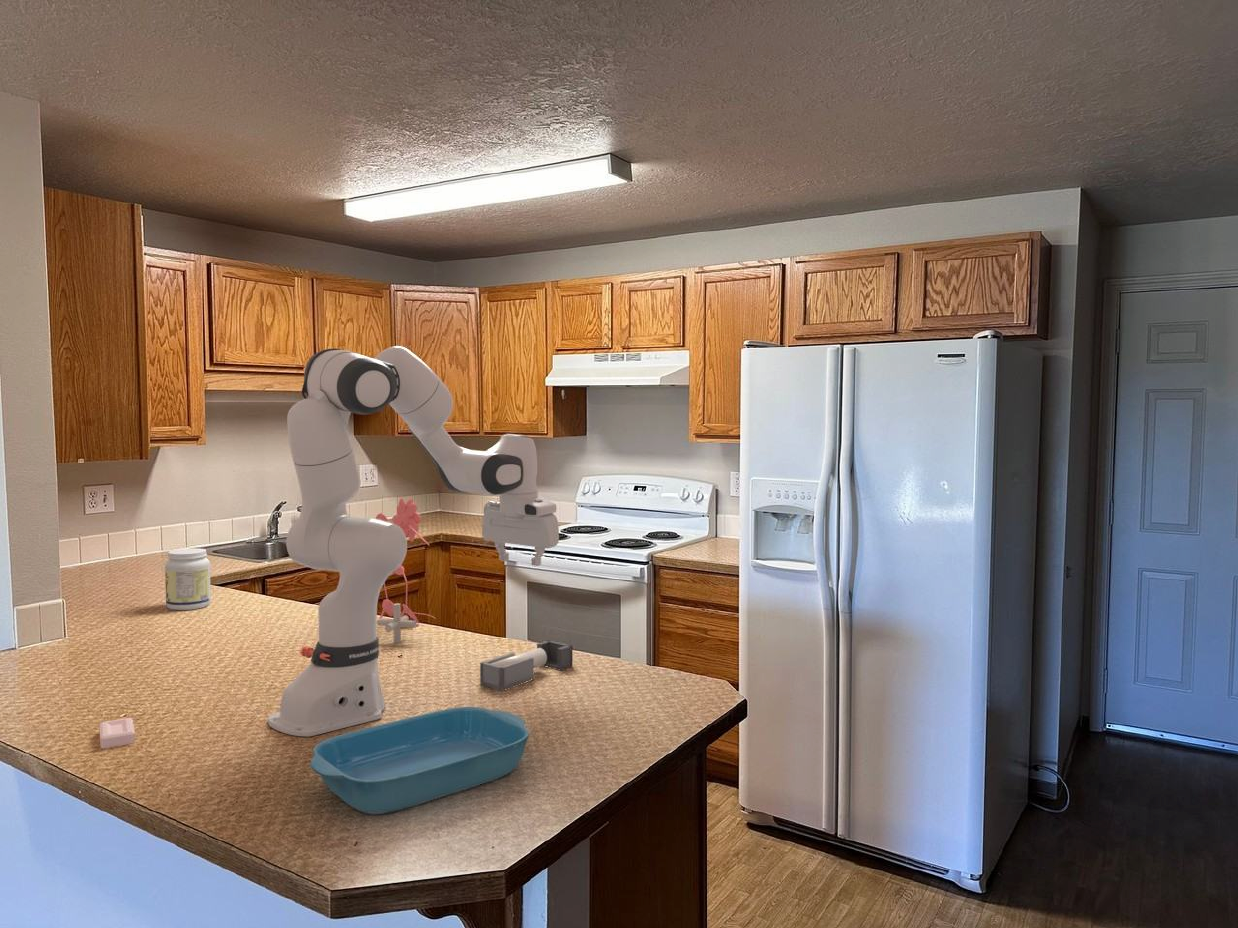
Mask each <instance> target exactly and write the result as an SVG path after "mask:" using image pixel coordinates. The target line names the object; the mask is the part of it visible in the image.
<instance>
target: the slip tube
mask: <svg viewBox="0 0 1238 928" xmlns="http://www.w3.org/2000/svg"><path fill="white" fill-rule="evenodd" d="M529 657H532V658H534V669H535V668H538V667H541V666H542V665H544V664H545V663H546V661H547V655H546V652H545V651H544V650H543V649H542V648H537V647H536V648H535V649H531V650H528V651H525V652H523V653H518V654H515V656H512V657H509V658H506V659H503V660H500V661H497V662H494V663H491V664H493V665H497V666H501V667H502V666H505V665H508V664H511V663H514V662H517V661H520V660H523V659H526V658H529Z"/></svg>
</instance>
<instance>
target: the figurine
mask: <svg viewBox="0 0 1238 928" xmlns="http://www.w3.org/2000/svg"><path fill="white" fill-rule="evenodd" d="M417 510H418V505H417V504H416V503H414V500H413V498H409V499H408V500H407V501H406V502H405V500H404V497H401V498H399V501H398V505H397V506H396V515H393V516H392V517H391V518H392V519H391V520H392V523H393V524H396V525H398V526H399V527H400V528H401V529H402V530H403V532H404V534H405V536H406V539H407V538H408V540H409V541H410V542H412V543H413V542H414V541H415V538H416V536H417V537H418V538H419V539H421V540H422V541H423V542H424V543H425V544H427V546H428V547H429V546H430V543H429V542H428V541H426V539H424V538H423V536H422V535H421V534H420V533H419V526H418V524H420V523H421V522H422V517H421V515H420V514H419V513H418V512H417ZM375 519H380V520H383V521H387V522H389V519H388V518H387V516H386V515H385V514H383V512H380V513H378V514H377V515H376V516H375ZM394 574H395V575H398V576H403V578H404V580H405V588H406V589H405V604H404V603H403V604H402V608H403V609H402V611H401V617H403V616H405V615H404V614H408V616H410V617H411V619H412V620H413V621H416V622H417V624H418V625H420V621H419V619H418V617H417V616H416V615H415V614H418V615H422V613H419V612H415V611H414V612H413V611H412V610H411V609H410V608H409V607H408V585H409V584H408V580H407V576H406V574H405V567H404V566H403V563H402V564H401V565H400V566H399V568H398V569H396V570H395V571H394V572H392V573H391V574H390V575H389V577H390V576H392V575H394ZM383 588H384V592H385V597H386V599H383V601H382V605H381V606H382V608H383V609H382V611H381V614H380V616H379V618H378V619H381V618H382V619H383V616H384V614H385V613H386V614H387V616H389V617H392V618H393V604H394V603H393V602H392V601H391V600H390V599H389V597H388V594H387V593H388V592H387V589H386V581H385V582H384V584H383ZM423 615H425V616H429V617H432V618H434V619H435V620H436V617H434V616H433V615H431V614H429V613H428V614H426V613H423ZM412 630H414V629H413V628H411V629H408V631H412Z"/></svg>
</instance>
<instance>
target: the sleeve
mask: <svg viewBox="0 0 1238 928" xmlns="http://www.w3.org/2000/svg"><path fill="white" fill-rule="evenodd" d="M515 655H516V653H514V652H510V653H507V654H504V655H501V656H497V657H494V658H491V659H488V660H485V661H482V662H480V663H479V667H480V669H479V675H480V677H479V683H480V684H479V685H480V686H481V685H482V687H485V686H486V688H489V687H490V688H489V689H492V688H493V689H492V690H496V691H499V690H500V691H499V692H504V691H506V690H505V689H507V690H509V689H508V688H510V689H512V688H514V687H513V686H515V687H517V686H516V685H518V686H520V685H522V684H521V683H523V684H525V683H524V682H526V681H529V680H531V679H533V678H534V674H535V673H534V669H535V668H534V658H532V657H529V658H526V659H523V660H520V661H517V662H514V663H511V664H508V665H505V666H502V667H501V666H497V665H493V664H491V663H494V662H497V661H500V660H503V659H506V658H509V657H512V656H515ZM533 680H534V679H533ZM531 681H532V680H531ZM529 682H530V681H529ZM526 683H527V682H526ZM519 684H520V685H519ZM511 687H512V688H511ZM503 690H504V691H503Z"/></svg>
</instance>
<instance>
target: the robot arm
mask: <svg viewBox="0 0 1238 928" xmlns="http://www.w3.org/2000/svg"><path fill="white" fill-rule="evenodd" d="M301 387H302V388H301V394H302V397H303V399H301V400H299V401H297V402H296V403H294V404H293V405H292V406H291V407H290V409H289V410H288V413H287V416H286V417H287V418H286V422H287V424H286V425H287V434H288V443H289V448H290V453H291V458H292V461H293V465H294V469H295V474H296V476H297V481H298V485H299V490H300V494H301V495H300V496H301V509H300V514H299V516H298V518H297V520H295V522H293V524H292V525H291V526H290V528H289V530H288V532H287V534H286V535H287V536H286V543H285V545H286V552H287V554H288V556H289V558H290V559H291V560H292V561H293V562H294V563H296V564H298V565H301V566H304V567H307V568H310V569H313V570H319V571H328V572H339V580H338V583H337V587H336V589H335V590H333V591H330V592H329V593H328V594H327V595H326V596H324V597H323V599H322V600H321V601H320V602H319V605H318V615H317V616H318V641H317V642H316V644H315V647H314V648H313V647H309V646H307V645H305V646H302V647H301V649H300V652H299V654H300V655H301V656H302V657H305V658H307V659H310V663H309V664H308V665H307V666H306V668H304V669H303V670H302V672H300V673H299V675H297V676H296V677H295V679H293V681H291V682H290V683H289V684H288V685H287V686H286V687H285V688H284V690H283V693H282V696H281V701H280V702H281V703H280V710H279V711H277V712H275V713H272V714H271V715H269V716H268V718H267V719H268V720H267V724H268V725H269V726H270V727H271V729H274V730H276V731H278V732H280V733H283V734H286V735H291V736H296V737H314V736H319V735H322V734H325V733H330V732H333V731H337V730H342V729H345V728H348V727H349V728H350V727H353V726H356V725H361V724H365V723H369V722H371V721H373V722H374V721H376V720H379V719H381V718H382V717H383V716H382V712H383V711H384V710H385V709H386V707H387V705H386V702H385V699H384V695H383V690H382V686H381V681H380V675H379V666H378V665H379V664H378V663H379V662H378V659H379V656H380V644H379V637H378V636H377V621H378V619H377V617H378V615H377V613H378V602H379V597H380V593H381V590H382V588H383V587H384V582H385V583H386V581H387V580H388V578H389V577H390V576H391V575H390V574H391V573H394V572H395V570H396V569H398V568H399V566H400V565H401V564H402V565H403V563H404V561H405V558H406V556H407V551H408V540H407V538H406V536H405V534H404V532H403V530H402V529H401V528H400V527H399V526H398V525H396V524H394V523H393V522H389V521H388V522H387V521H383V520H380V519H376V518H375V517H374V518H371V517H369V518H368V517H357V516H354V517H353V516H350V515H349V514H348V512H347V502H349V501H350V500H352V499H353V498H354V497H356V496H357V493H358V492H359V490H360V487H361V482H362V481H361V477H360V473H359V469H358V464H357V460H356V456H355V451H354V449H353V444H352V440H351V437H350V434H349V420H350V416H351V414H352V413H353V414H357V415H372V414H375V413H378V412H380V411H382V410H383V409H385V408H386V407H387V406H388V405H389V406H390V407H391V408H392V409H393V410H394V411H395V413H397V414H398V416H400V418H401V419H402V420H403V421H404V423H405V424H406V426H407V428H408V429H409V432H410V433H411V435H412V436H413V437H414V439H415V440H416V441H417V442H418V444H419V445H420V446H421V447H422V449H423V450H424V451H425V452H426V454H427V455H428V456H429V458H430V459H431V460H432V462H433V463H434V464H435V466H436V467H437V470H438V473H439V474H440V478H441V480H442V482H443V483H444V485H445V486H446V487H447V488H448V489H449V490H451V491H452V492H454V493H469V494H470V493H471V494H477V495H478V494H479V495H486V496H487V495H488V496H496V495H498V497H499V499H498V500H499V501H494V500H493V501H492V500H491V501H488V502H487V503H485V504H484V505H483V517H482V524H481V526H482V527H481V535H482V538H483V540H484V541H488V542H494V547H495V549H496V552H498V554H499V556H498V558H499V561H501V562H507V561H509V559H510V557H509V556H510V554H509V552H506V549H505V545H506V544H511V545H517V546H518V545H519V546H525V547H531V548H532V547H533V548H534V552H536V553H535V555H534V557H531V558H530V559H531V560H530V561H531V565H532V566H534V567H540V566H541V565H542V557H543V555H544V553H545V551H546V549H553V548H555V547H556V546H557V545H558V544H559V541H560V531H559V528H560V527H559V521H558V518H557V516H556V515H555V513H556V512H557V504H556V503H554V502H553V501H551V500H548V499H547V498H545V497H543V496H541V495H540V494H539V489H538V486H537V476H538V475H537V474H538V455H537V454H538V453H537V448H536V444H535V442H534V441H535V440H534V439H533V438H532V437H530V436H528V435H523V434H516V433H515V434H514V433H505V434H502V435H501V436H500V439H499V440H498V441H497V442H496V444H494V445H493V446H492V447H489V448H488V449H486V450H478V449H477V450H476V449H469V448H465V447H463V446H460V445H458V444H457V443H456V442H455V441H454V440H453V437H451V436H450V434H449V433H448V431H447V430H446V428H444V425H445V424H446V423H447V422H448V420H449V419H450V417H451V415H452V412H453V409H454V397H453V395H452V394H451V392H450V390H449V388H448V387H447V385H446V384H445V383H444V382H443V380H441V378H440V377H439V376H438V375H437V373H435V371H434V370H432V369H431V368H430V366H428V365H427V363H425V362H424V361H423V360H422V359H421V358H419V357H418V356H417V355H416V354H415V353H413V352H412V351H410V350H409V349H408V348H406V347H404V346H399V345H396V346H389V347H388V348H386V349H383V350H382V351H380V352H379V353H378V354H377V355H376V356H375V357H374V358H372V357H369V356H366V355H363V354H361V353H359V352H355V351H351V350H345V349H341V348H326V349H322V350H319V351H318V352H316V353H314V354H313V355H312V356H311V357H310V358H309V359H308V360H307V363H306V365H305V369H304V373H303V384H302V386H301ZM389 575H390V576H389Z"/></svg>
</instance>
